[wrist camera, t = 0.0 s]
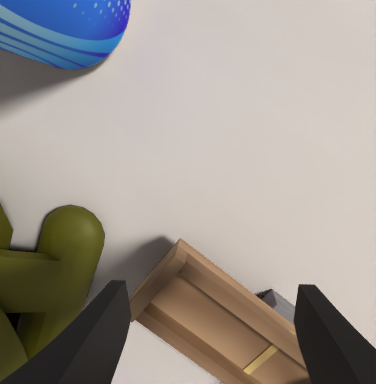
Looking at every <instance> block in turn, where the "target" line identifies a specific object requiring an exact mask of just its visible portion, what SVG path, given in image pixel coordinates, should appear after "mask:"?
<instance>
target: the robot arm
mask: <svg viewBox="0 0 376 384" xmlns="http://www.w3.org/2000/svg"><path fill="white" fill-rule="evenodd" d="M131 316H132V315H131V310H130V304H129V299H128V293H127V288H126V282H125V281H118V280H111V281H110V282H109V283H108V284H107V285H106V287H105V288H104V289H103V290H102V291H101V292H100V293H99V294H98V295H97V296H96V297H95V298H94V299H93V301H92V302H91V303H90V304H89V305H88V306H87V307H86V308H85V309H84V310H83V311H82V312H81V313H80V314H79V315H78V316H77V317H76V318H75V319H74V320H73V321H72V322H71V323H70V324H69V325H68V326H67V327H66V328H65V329H64V330H63V331H62V332H61V333H60V334H59V335H58V336H57V337H55V338H54V339H53V340H52V341H51V342H50V343H49V344H48V345H47V346H45V347H44V348H43V349H42V350H41V351H40V352H38V353H37V354H36V355H35V356H34V357H32V358H31V359H30V360H29V361H27V362H26V363H25V364H24V365H22V366H21V367H20V368H18V369H17V370H15V371H14V372H13V373H11V374H10V375H9V376H7V377H6V378H5V379H3V380H2V381H1V382H0V384H111V381H112V379H113V376H114V373H115V370H116V367H117V364H118V362H119V359H120V356H121V353H122V350H123V347H124V344H125V341H126V338H127V334H128V329H129V325H130V320H131ZM293 322H294V326H295V331H296V335H297V340H298V344H299V348H300V351H301V354H302V357H303V360H304V363H305V365H306V368H307V371H308V374H309V377H310V380H311V383H312V384H376V349H375V348H374V347H373V346H372V345H371V344H370V343H369V342H368V341H367V340H366V339H365V338H364V337H363V336H362V335H361V334H360V333H359V332H358V331H357V330H356V329H355V328H354V327H353V326H352V325H351V324H350V323H349V322H348V321H347V320H346V319H345V317H344V316H343V315H342V314H341V313H340V312H339V311H338V310H337V309H336V308H335V307H334V306H333V304H332V303H331V302H330V301H329V300H328V299H327V298H326V297H325V295H324V294H323V293H322V292H321V291H320V290H319V289H318V288H317V287H316V286H315V285H306V284H299V287H298V294H297V300H296V307H295V313H294V320H293Z"/></svg>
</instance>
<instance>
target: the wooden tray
mask: <svg viewBox="0 0 376 384" xmlns="http://www.w3.org/2000/svg"><path fill="white" fill-rule="evenodd" d="M129 304H130V310H131V315H132V316H131V320H130V321H131V322H133V321H134V320H136V321H138V322H139V323H141V324H142V325H143V326H145V327H146V328H148V329H149V330H150V331H152V332H153V333H155V334H156V335H157V336H159V337H160V338H162V339H163V340H164V341H166V342H167V343H169V344H170V345H171V346H173V347H174V348H176V349H177V350H178V351H180V352H181V353H183V354H184V355H185V356H187V357H188V358H190V359H191V360H192V361H194V362H195V363H197V364H198V365H199V366H201V367H202V368H204V369H205V370H206V371H208V372H209V373H210V374H212V375H213V376H215V377H216V378H217V379H219V380H220V381H222V382H223V383H224V384H312V383H311V380H310V377H309V374H308V371H307V368H306V365H305V363H304V360H303V357H302V354H301V351H300V348H299V344H298V340H297V335H296V331H295V326H294V322H293V320H294V313H295V306H293V305H292V304H291V303H290V302H288V301H287V300H286V299H284V298H283V297H282V296H280V295H279V294H278V293H277V292H275V291H274V290H273V289H271V290H270V291H269V292H268V293H267V294H266V295H265V296H264V297H263V298H262V299H259V298H258V297H257V296H255V295H254V294H253V293H251V292H250V291H249V290H248V289H246V288H245V287H244V286H242V285H241V284H240V283H238V282H237V281H236V280H234V279H233V278H232V277H231V276H229V275H228V274H227V273H225V272H224V271H223V270H221V269H220V268H219V267H217V266H216V265H215V264H213V263H212V262H211V261H210V260H208V259H207V258H206V257H204V256H203V255H202V254H200V253H199V252H198V251H196V250H195V249H194V248H193V247H191V246H190V245H189V244H187V243H186V242H185V241H183V240H182V239H181V238H180V239H179V240H178V241H177V242H176V244H175V245H174V246H173V247H172V248H171V249H170V251H169V252H168V253H167V254H166V255H165V256H164V257H163V259H162V260H161V261H160V262H159V263H158V264H157V266H156V267H155V268H154V269H153V270H152V271H151V273H150V274H149V275H148V276H147V277H146V278H145V279H144V281H143V282H142V283H141V284H140V285H139V286H138V288H137V289H136V290H135V291H134V293H133V295H132V297H131V299H130V301H129Z"/></svg>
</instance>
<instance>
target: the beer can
mask: <svg viewBox="0 0 376 384" xmlns="http://www.w3.org/2000/svg"><path fill="white" fill-rule="evenodd" d="M130 9H131V0H0V49H2V50H5V51H8V52H11V53H14V54H17V55H20V56H23V57H26V58H29V59H32V60H35V61H38V62H41V63H44V64H48V65H51V66H54V67H57V68H61V69H69V70H76V69H83V68H87V67H90V66H93V65H95V64H97V63H99V62H100V61H102V60H104V59H105V58H106V57H107V56H108V55H109V54H110V53H111V52H112V51H113V50H114V49H115V48H116V47H117V45H118V44H119V42H120V41H121V39H122V37H123V35H124V32H125V30H126V27H127V24H128V21H129V16H130Z"/></svg>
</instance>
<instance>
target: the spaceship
mask: <svg viewBox="0 0 376 384" xmlns="http://www.w3.org/2000/svg"><path fill="white" fill-rule="evenodd" d="M12 233H13V229H12V227H11V225H10V223H9V221H8V219H7V217H6V215H5V213H4V211H3V209H2V207H1V205H0V382H1V381H2V380H3V379H5V378H6V377H7V376H9V375H10V374H11V373H13V372H14V371H15V370H17V369H18V368H20V367H21V366H22V365H24V364H25V363H26V362H27V361H29V360H30V359H31V358H32V357H34V356H35V355H36V354H37V353H38V352H40V351H41V350H42V349H43V348H44V347H45V346H47V345H48V344H49V343H50V342H51V341H52V340H53V339H54V338H55V337H57V336H58V335H59V334H60V333H61V332H62V331H63V330H64V329H65V328H66V327H67V326H68V325H69V324H70V323H71V322H72V321H73V320H74V319H75V318H76V317H77V316H78V315H79V314H80V313H81V312H82V309H83V306H84V303H85V300H86V297H87V294H88V291H89V288H90V285H91V282H92V279H93V276H94V273H95V270H96V267H97V264H98V261H99V258H100V255H101V252H102V249H103V246H104V238H105V233H104V230H103V227H102V224H101V222H100V221H99V220H98V219H97V217H96V216H95V215H94V214H93V213H92V212H90V211H88V210H87V209H85V208H84V207H80V206H75V205H68V206H63V207H59V208H57V209H56V210H55V211H53V212H52V213H50V214H49V215H48V216H47V218H46V220H45V222H44V224H43V228H42V232H41V235H40V239H39V243H38V247H37V251H36V253H32V252H19V251H10V250H9V246H10V242H11V237H12ZM5 313H21V314H20V318H19V321H18V325H17V329H16V332H15V331H14V329H13V327H12V325H11V323H10V321H9V320H8V318H7V316H6V314H5Z"/></svg>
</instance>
